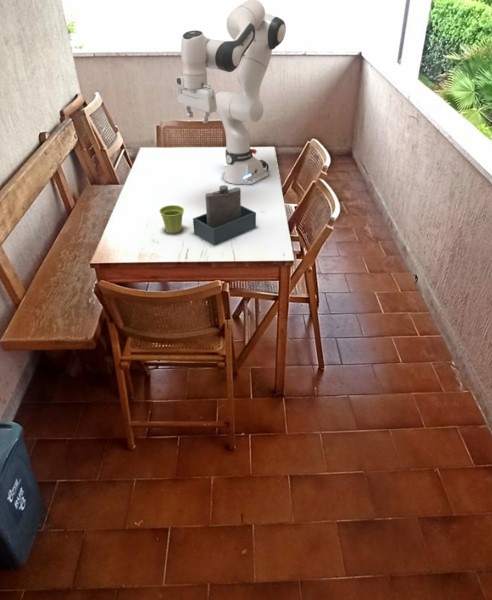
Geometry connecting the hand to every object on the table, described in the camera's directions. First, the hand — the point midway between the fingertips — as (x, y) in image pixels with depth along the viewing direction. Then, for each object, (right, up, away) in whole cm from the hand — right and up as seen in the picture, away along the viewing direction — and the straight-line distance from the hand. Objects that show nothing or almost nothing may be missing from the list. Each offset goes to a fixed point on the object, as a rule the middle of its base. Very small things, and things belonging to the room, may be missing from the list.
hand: (197, 119), depth 187 cm
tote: (+10, -42, +6) cm, 43 cm away
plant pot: (-10, -42, +6) cm, 43 cm away
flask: (+10, -42, +5) cm, 43 cm away
